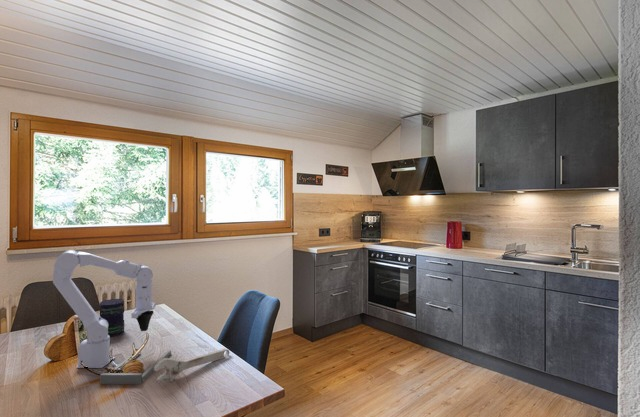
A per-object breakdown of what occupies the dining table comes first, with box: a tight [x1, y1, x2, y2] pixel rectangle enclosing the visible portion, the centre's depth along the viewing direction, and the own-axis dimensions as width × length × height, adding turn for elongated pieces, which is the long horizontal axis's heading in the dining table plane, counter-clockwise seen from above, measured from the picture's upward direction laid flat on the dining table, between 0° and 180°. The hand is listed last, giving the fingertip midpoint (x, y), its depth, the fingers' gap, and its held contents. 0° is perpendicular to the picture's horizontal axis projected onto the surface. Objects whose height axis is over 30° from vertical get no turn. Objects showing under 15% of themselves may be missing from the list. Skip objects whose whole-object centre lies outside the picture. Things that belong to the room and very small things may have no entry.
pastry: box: [121, 359, 145, 374], centre depth 117 cm, size 9×7×4 cm
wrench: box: [154, 348, 230, 382], centre depth 121 cm, size 8×2×30 cm
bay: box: [99, 349, 172, 385], centre depth 122 cm, size 13×23×3 cm, turn 0°
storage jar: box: [99, 298, 125, 339], centre depth 154 cm, size 10×10×15 cm
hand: (144, 330), depth 133 cm, fingers closed
